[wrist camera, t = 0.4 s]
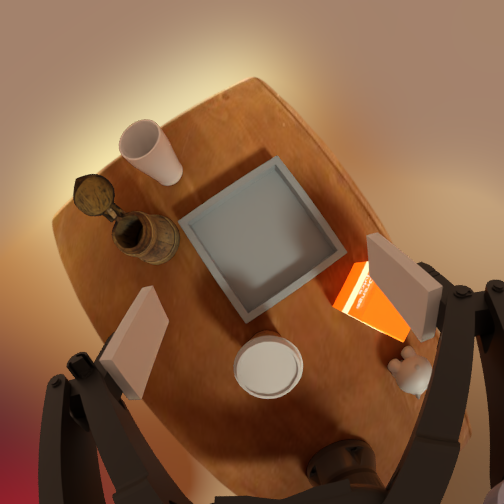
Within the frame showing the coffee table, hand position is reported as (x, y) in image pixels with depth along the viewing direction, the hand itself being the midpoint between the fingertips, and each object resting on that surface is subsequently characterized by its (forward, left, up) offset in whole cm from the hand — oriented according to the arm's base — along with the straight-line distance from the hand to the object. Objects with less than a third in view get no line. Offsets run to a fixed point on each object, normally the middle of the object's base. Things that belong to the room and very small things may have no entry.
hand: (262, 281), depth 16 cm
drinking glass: (+25, +3, -31) cm, 40 cm away
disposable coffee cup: (-11, +6, -31) cm, 34 cm away
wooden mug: (+18, +12, -31) cm, 38 cm away
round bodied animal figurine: (-33, -13, -31) cm, 47 cm away
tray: (+5, -4, -31) cm, 31 cm away
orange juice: (-13, -13, -31) cm, 36 cm away
